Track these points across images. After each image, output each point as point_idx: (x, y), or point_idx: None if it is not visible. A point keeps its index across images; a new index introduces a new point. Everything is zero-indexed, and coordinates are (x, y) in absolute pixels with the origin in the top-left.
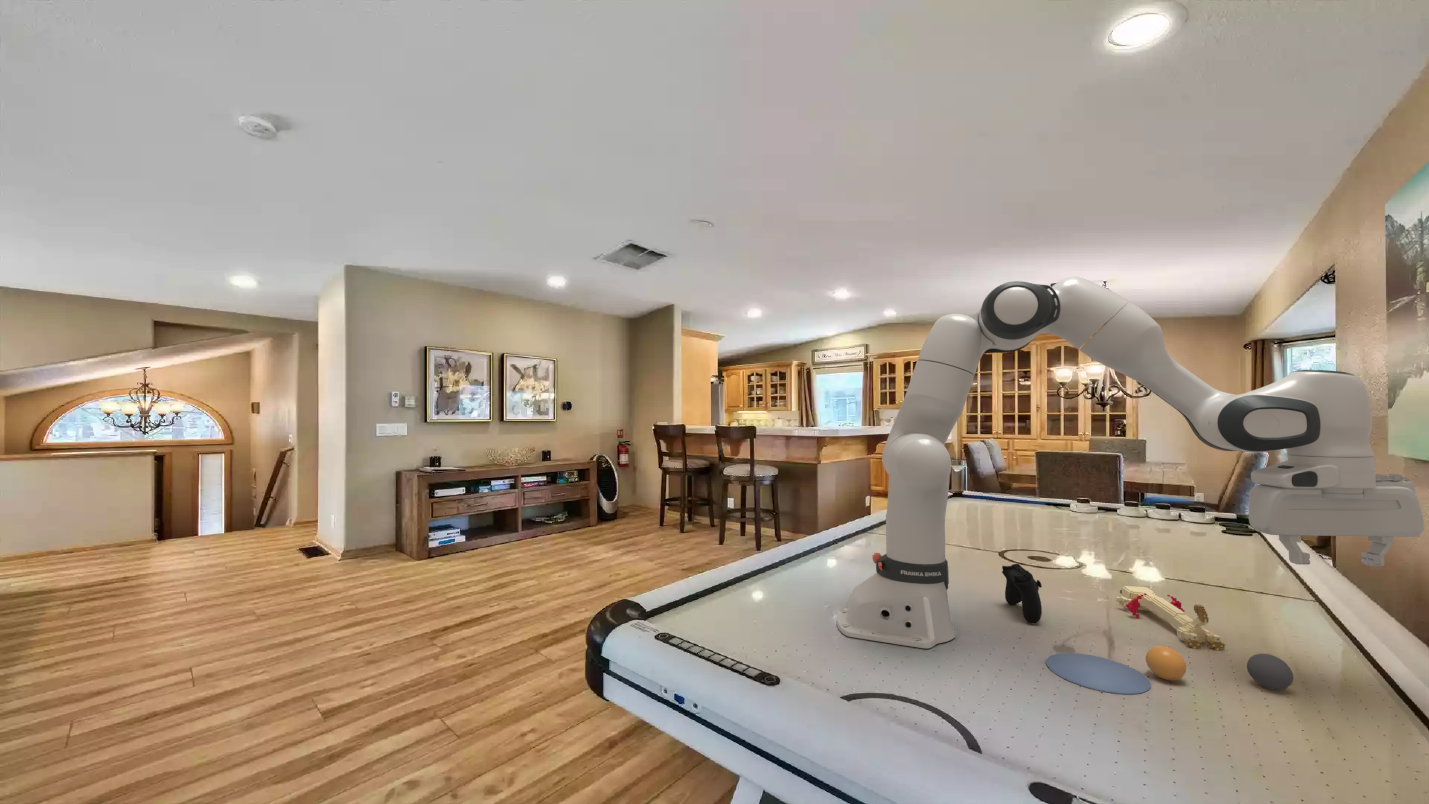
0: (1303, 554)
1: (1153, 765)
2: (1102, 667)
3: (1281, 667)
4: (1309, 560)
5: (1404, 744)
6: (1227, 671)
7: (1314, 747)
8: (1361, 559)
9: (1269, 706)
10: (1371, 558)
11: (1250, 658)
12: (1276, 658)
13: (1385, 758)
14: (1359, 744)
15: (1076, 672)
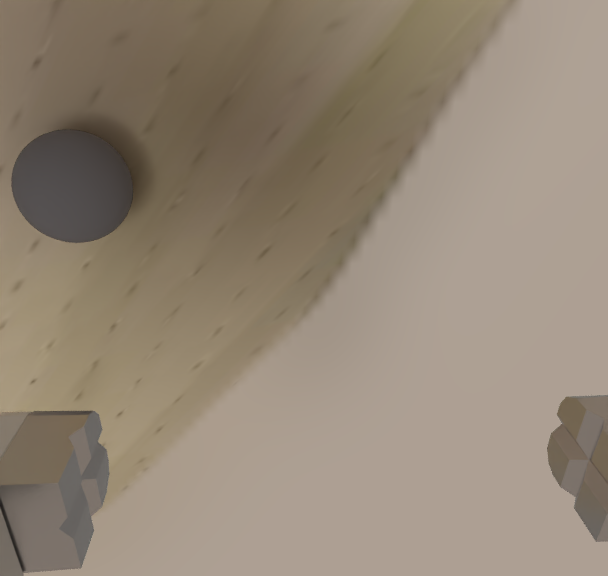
0: (28, 562)
1: None
2: None
3: (76, 240)
4: (94, 512)
5: (205, 393)
6: (17, 59)
7: None
8: (582, 413)
9: (21, 288)
10: (581, 500)
11: (15, 173)
12: (72, 219)
13: (124, 444)
14: (114, 410)
15: None
